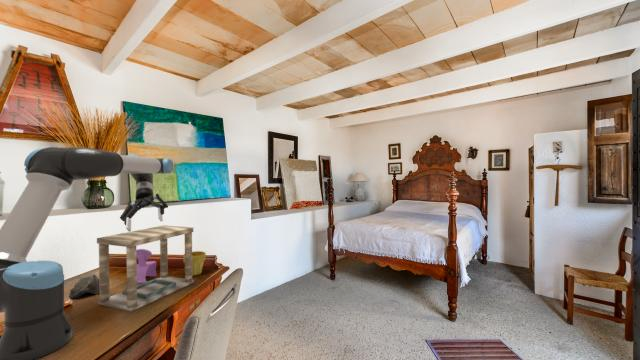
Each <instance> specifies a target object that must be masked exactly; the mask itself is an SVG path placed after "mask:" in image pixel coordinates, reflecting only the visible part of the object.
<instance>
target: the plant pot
mask: <svg viewBox="0 0 640 360" xmlns="http://www.w3.org/2000/svg"><path fill="white" fill-rule="evenodd" d="M206 254H207V253H206V252H205V251H203V250H202V251H201V250H197V251H192V276H198V275H201V274H202V272H203V267H204V263H205V261H206V256H207V255H206ZM182 262H183V264H185V253H183V255H182Z"/></svg>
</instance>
